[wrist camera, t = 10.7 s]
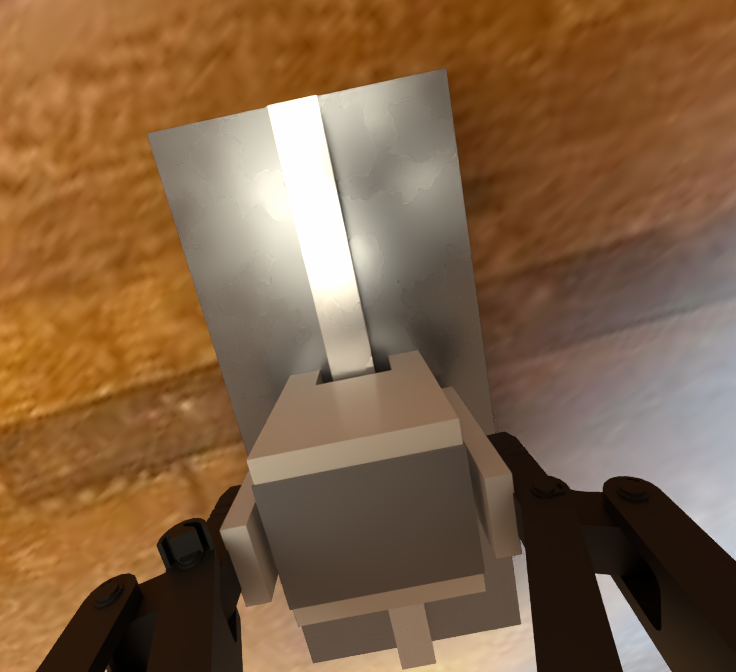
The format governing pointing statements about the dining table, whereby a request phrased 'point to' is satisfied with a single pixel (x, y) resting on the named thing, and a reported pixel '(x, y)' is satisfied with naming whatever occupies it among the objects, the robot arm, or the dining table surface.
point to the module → (367, 493)
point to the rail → (389, 270)
